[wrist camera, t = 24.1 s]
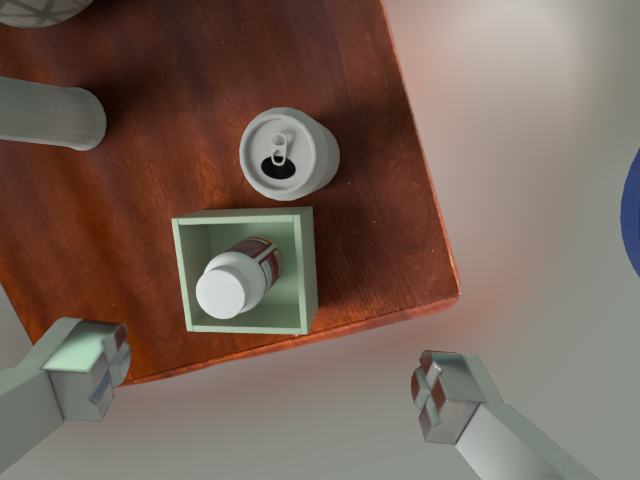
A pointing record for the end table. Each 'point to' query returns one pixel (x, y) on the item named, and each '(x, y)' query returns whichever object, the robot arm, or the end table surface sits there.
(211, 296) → the pill bottle
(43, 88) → the grey tall flared cylinder
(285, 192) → the can
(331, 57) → the end table surface
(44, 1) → the planter
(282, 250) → the bin
